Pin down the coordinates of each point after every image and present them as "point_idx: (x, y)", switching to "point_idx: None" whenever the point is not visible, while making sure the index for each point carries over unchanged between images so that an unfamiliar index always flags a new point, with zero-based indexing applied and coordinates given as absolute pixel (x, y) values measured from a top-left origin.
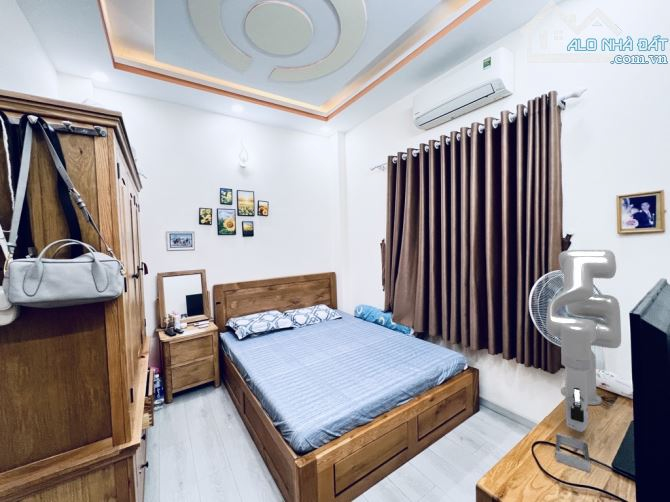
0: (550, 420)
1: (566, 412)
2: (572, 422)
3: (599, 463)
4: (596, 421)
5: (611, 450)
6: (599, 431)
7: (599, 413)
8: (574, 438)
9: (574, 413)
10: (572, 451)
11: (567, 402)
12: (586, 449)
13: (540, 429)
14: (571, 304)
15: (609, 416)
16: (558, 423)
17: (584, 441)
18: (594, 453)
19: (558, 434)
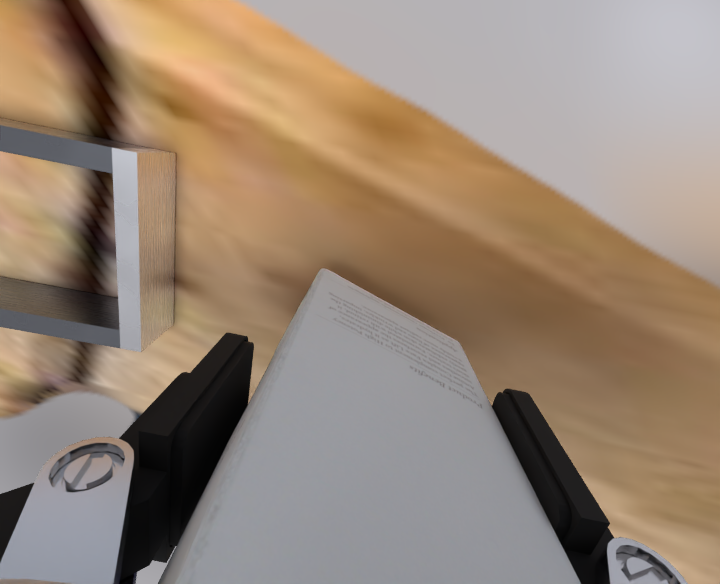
0: (486, 165)
1: (297, 320)
2: (289, 325)
3: (74, 350)
4: (571, 456)
5: None
6: None
7: (685, 496)
8: (137, 281)
9: (150, 412)
10: (100, 235)
11: (237, 433)
12: (31, 324)
13: (286, 44)
14: None
15: (655, 529)
16: (457, 220)
17: (141, 337)
18: (166, 352)
19: (118, 166)
